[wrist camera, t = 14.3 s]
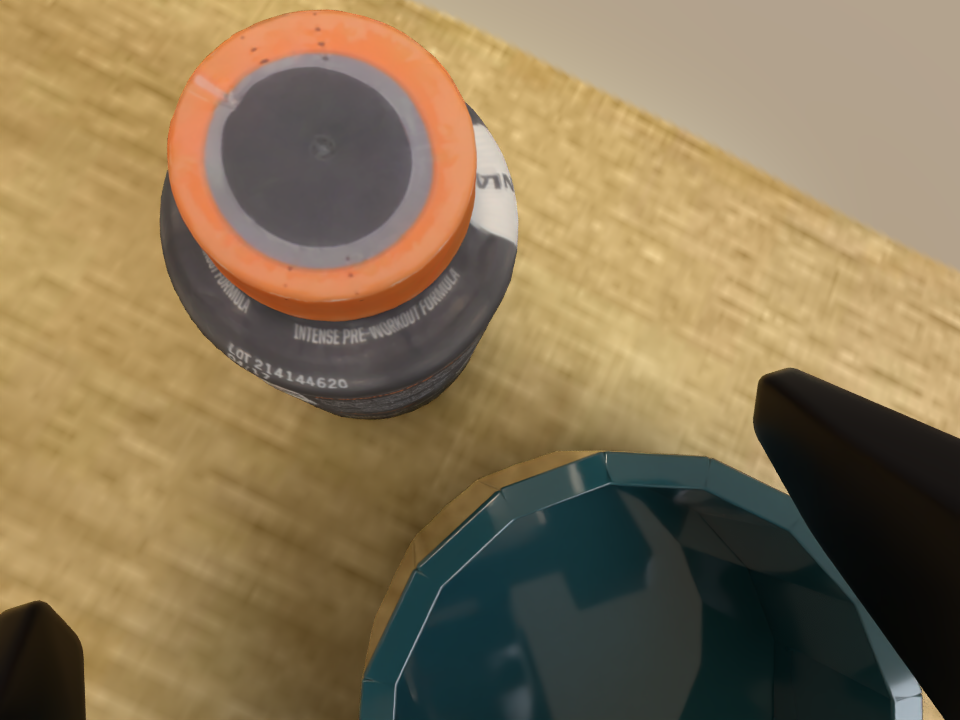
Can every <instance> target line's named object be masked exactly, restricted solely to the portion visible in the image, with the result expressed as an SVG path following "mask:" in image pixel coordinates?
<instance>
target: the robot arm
mask: <svg viewBox="0 0 960 720" xmlns="http://www.w3.org/2000/svg"><path fill="white" fill-rule="evenodd" d="M753 425H754V430H755V433H756V436H757V438H758V440H759V441H760V443H761V445H762V447H763V449H764V450H765V452H766V454H767V456H768V457H769V459H770V461H771V463H772V465H773V466H774V468H775V470H776V472H777V473H778V475H779V477H780V479H781V481H782V482H783V484H784V486H785V488H786V489H787V491H788V493H789V495H790V497H791V498H792V500H793V502H794V504H795V505H796V507H797V509H798V511H799V512H800V514H801V516H802V518H803V520H804V521H805V523H806V524H807V526H808V528H809V529H810V531H811V533H812V534H813V536H814V537H815V539H816V540H817V542H818V543H819V545H820V546H821V548H822V549H823V551H824V552H825V553H826V555H827V556H828V558H829V559H830V560H831V562H832V563H833V564H834V566H835V567H836V569H837V570H838V571H839V573H840V574H841V576H842V577H843V578H844V580H845V581H846V583H847V584H848V585H849V587H850V588H851V590H852V591H853V592H854V594H855V595H856V597H857V598H858V599H859V601H860V602H861V604H862V605H863V606H864V608H865V609H866V610H867V612H868V613H869V615H870V616H871V617H872V619H873V620H874V622H875V623H876V624H877V626H878V627H879V629H880V630H881V631H882V633H883V634H884V636H885V637H886V638H887V640H888V641H889V643H890V644H891V645H892V647H893V648H894V650H895V651H896V652H897V654H898V655H899V656H900V658H901V659H902V661H903V662H904V663H905V665H906V666H907V668H908V669H909V670H910V672H911V673H912V675H913V676H914V677H915V679H916V680H917V682H918V683H919V684H920V686H921V687H922V689H923V690H924V691H925V693H926V694H927V696H928V697H929V698H930V700H931V701H932V702H933V704H934V705H935V707H936V708H937V709H938V711H939V712H940V714H941V715H942V716H943V718H944V719H945V720H960V439H959V438H957V437H955V436H952V435H950V434H948V433H945V432H943V431H941V430H938V429H936V428H934V427H931V426H929V425H927V424H924V423H922V422H920V421H917V420H915V419H913V418H910V417H908V416H906V415H903V414H901V413H899V412H896V411H894V410H891V409H889V408H887V407H884V406H882V405H880V404H877V403H875V402H873V401H870V400H868V399H866V398H863V397H861V396H859V395H856V394H854V393H852V392H849V391H847V390H845V389H842V388H840V387H838V386H835V385H833V384H831V383H828V382H826V381H824V380H821V379H819V378H817V377H814V376H812V375H810V374H807V373H805V372H803V371H800V370H798V369H794V368H785V369H782V370H778V371H775V372H772V373H769V374H766V375H764V376H762V377H761V379H760V380H759V382H758V388H757V395H756V402H755V409H754V416H753ZM0 720H86V709H85V683H84V657H83V649H82V645H81V642H80V640H79V638H78V636H77V635H76V633H75V632H74V631H73V630H72V629H71V628H70V627H69V626H68V625H67V624H66V623H65V622H64V620H63V619H62V618H61V617H60V616H59V615H58V614H57V613H56V612H55V611H54V610H53V609H52V608H51V606H50V605H48V604H47V603H46V602H43V601H40V600H39V601H33V602H30V603H27V604H23V605H20V606H17V607H14V608H11V609H8V610H6V611H4V612H2V613H1V614H0Z"/></svg>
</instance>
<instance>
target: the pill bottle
mask: <svg viewBox="0 0 960 720" xmlns="http://www.w3.org/2000/svg"><path fill="white" fill-rule="evenodd" d="M167 158H168V170H167V173H166V177H165V181H164V186H163V191H162V195H161V208H160V237H161V243H162V250H163V255H164V259H165V263H166V267H167V271H168V274H169V277H170V279H171V282H172V285H173V287H174V289H175V291H176V293H177V295H178V296H179V299H180V301H181V303H182V305H183V306H184V308H185V310H186V311H187V313H188V314H189V316H190V318H191V320H192V321H193V322H194V323H195V324H196V325H197V327H198V328H199V329H200V331H201V332H202V334H203V335H204V336H205V337H206V338H207V339H208V340H210V341H211V342H212V343H213V344H214V345H215V347H216V348H218V349H219V350H221V351H222V352H223V353H224V354H225V355H226V356H227V357H229V358H230V359H231V360H232V361H234V362H235V363H236V364H238V365H239V366H241V367H243V368H244V369H246V370H248V371H249V372H251V373H253V374H254V375H256V376H257V377H259V378H260V379H262V380H263V381H264V382H266V383H267V384H269V385H271V386H272V387H274V388H276V389H278V390H280V391H283V392H285V393H287V394H289V395H291V396H294V397H296V398H299V399H301V400H303V401H305V402H307V403H309V404H312V405H314V406H315V407H317V408H320V409H322V410H325V411H327V412H330V413H333V414H335V415H338V416H341V417H347V418H356V419H386V418H391V417H395V416H398V415H401V414H405V413H408V412H411V411H414V410H416V409H418V408H420V407H421V406H424V405H426V404H428V403H429V402H431V401H432V400H433V399H435V398H436V397H438V396H439V395H440V394H441V393H442V392H444V391H445V390H446V389H447V388H448V387H449V386H450V385H451V384H452V383H453V382H454V381H455V380H456V379H457V377H458V376H459V375H460V373H461V372H462V371H463V370H464V368H465V367H466V365H467V363H468V362H469V360H470V358H471V355H472V354H473V351H474V349H475V348H476V346H477V344H478V342H479V340H480V339H481V337H482V335H483V333H484V332H485V330H486V328H487V326H488V324H489V322H490V320H491V319H492V317H493V315H494V313H495V312H496V310H497V308H498V306H499V305H500V303H501V301H502V299H503V297H504V295H505V292H506V290H507V288H508V285H509V283H510V281H511V277H512V272H513V267H514V263H515V258H516V254H517V242H518V212H517V202H516V197H515V191H514V187H513V183H512V179H511V176H510V173H509V170H508V167H507V164H506V162H505V159H504V156H503V154H502V152H501V150H500V149H499V147H498V145H497V143H496V141H495V140H494V138H493V136H492V135H491V133H490V132H489V131H488V129H487V127H486V126H485V124H484V123H483V121H482V120H481V119H480V117H479V116H478V115H477V114H476V113H475V111H474V110H473V109H472V108H471V107H470V106H469V105H468V104H467V103H466V102H465V101H464V100H463V98H462V96H461V94H460V92H459V90H458V89H457V87H456V85H455V83H454V82H453V80H452V78H451V77H450V75H449V73H448V72H447V71H446V69H445V68H444V67H443V66H442V65H441V64H440V63H439V62H438V60H437V59H436V58H435V57H434V56H433V55H431V54H430V53H429V52H428V51H427V50H426V49H424V48H423V47H422V46H421V45H420V44H418V43H417V42H416V41H415V40H413V39H412V38H410V37H409V36H407V35H406V34H405V33H403V32H401V31H399V30H397V29H395V28H393V27H391V26H389V25H387V24H385V23H382V22H380V21H377V20H374V19H371V18H368V17H365V16H361V15H356V14H352V13H347V12H343V11H335V10H309V11H297V12H292V13H286V14H282V15H279V16H276V17H273V18H269V19H266V20H263V21H260V22H258V23H255V24H253V25H252V26H250V27H248V28H246V29H244V30H241V31H239V32H237V33H235V34H234V35H232V36H231V37H230V38H229V39H227V40H226V41H224V42H223V43H222V44H221V45H220V46H218V47H217V48H216V49H215V50H214V51H213V52H212V53H210V54H209V55H208V56H207V57H206V58H205V59H204V60H203V61H202V63H201V64H200V65H199V66H198V67H197V68H196V70H195V71H194V73H193V74H192V75H191V77H190V78H189V80H188V82H187V84H186V86H185V88H184V90H183V92H182V94H181V96H180V98H179V101H178V104H177V106H176V109H175V112H174V115H173V118H172V120H171V122H170V129H169V134H168V143H167Z"/></svg>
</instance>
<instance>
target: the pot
mask: <svg viewBox="0 0 960 720" xmlns="http://www.w3.org/2000/svg"><path fill="white" fill-rule="evenodd" d="M921 693H922V690H921V687H920V684H919V683H918V682H917V680H916V679H915V677H914V676H913V675H912V673H911V672H910V670H909V669H908V668H907V666H906V665H905V663H904V662H903V661H902V659H901V658H900V656H899V655H898V654H897V652H896V651H895V650H894V648H893V647H892V645H891V644H890V643H889V641H888V640H887V638H886V637H885V636H884V634H883V633H882V631H881V630H880V629H879V627H878V626H877V624H876V623H875V622H874V620H873V619H872V617H871V616H870V615H869V613H868V612H867V610H866V609H865V608H864V606H863V605H862V604H861V602H860V601H859V599H858V598H857V597H856V595H855V594H854V592H853V591H852V590H851V588H850V587H849V585H848V584H847V583H846V581H845V580H844V578H843V577H842V576H841V574H840V573H839V571H838V570H837V569H836V567H835V566H834V564H833V563H832V562H831V560H830V559H829V558H828V556H827V555H826V553H825V552H824V551H823V549H822V548H821V546H820V545H819V543H818V542H817V540H816V539H815V537H814V536H813V534H812V533H811V531H810V529H809V528H808V526H807V524H806V523H805V521H804V520H803V518H802V516H801V514H800V512H799V511H798V509H797V507H796V505H795V504H794V502H793V500H792V498H791V497H790V495H788V494H786V493H784V492H782V491H780V490H777V489H775V488H773V487H771V486H769V485H767V484H765V483H763V482H761V481H759V480H757V479H755V478H753V477H751V476H749V475H747V474H745V473H743V472H741V471H739V470H737V469H735V468H733V467H730V466H728V465H726V464H724V463H722V462H720V461H718V460H716V459H714V458H709V457H707V456H696V455H678V454H659V453H641V452H623V451H553V452H551V453H548V454H545V455H542V456H540V457H537V458H534V459H531V460H528V461H524V462H521V463H517V464H514V465H512V466H509V467H507V468H505V469H503V470H500V471H498V472H495V473H493V474H490V475H487V476H484V477H482V478H479V479H478V481H475V482H473V483H472V484H471V485H470V486H469V487H468V488H467V489H466V490H465V491H463V492H462V493H461V494H460V495H459V496H457V497H456V498H455V499H454V500H452V501H451V502H450V503H449V504H447V505H446V506H445V507H444V508H443V509H442V510H441V511H440V512H439V513H438V514H437V515H436V516H435V517H434V518H433V519H432V520H431V521H430V522H429V523H428V524H427V525H426V526H425V527H424V528H423V529H422V530H421V531H420V532H419V533H418V534H417V535H416V536H415V537H414V540H412V541H411V543H410V545H409V547H408V549H407V551H406V553H405V555H404V557H403V559H402V561H401V563H400V565H399V567H398V569H397V570H396V572H395V574H394V576H393V578H392V581H391V583H390V586H389V588H388V591H387V593H386V595H385V597H384V599H383V601H382V603H381V605H380V607H379V610H378V612H377V614H376V616H375V619H374V622H373V626H372V631H371V636H370V641H369V646H368V651H367V655H366V660H365V665H364V670H363V675H362V680H361V692H360V706H359V720H923V697H922V694H921Z"/></svg>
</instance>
